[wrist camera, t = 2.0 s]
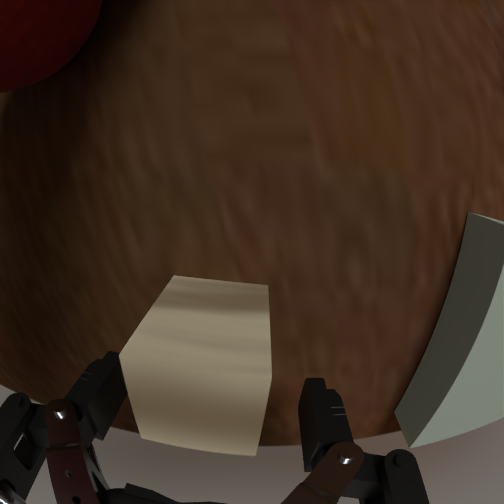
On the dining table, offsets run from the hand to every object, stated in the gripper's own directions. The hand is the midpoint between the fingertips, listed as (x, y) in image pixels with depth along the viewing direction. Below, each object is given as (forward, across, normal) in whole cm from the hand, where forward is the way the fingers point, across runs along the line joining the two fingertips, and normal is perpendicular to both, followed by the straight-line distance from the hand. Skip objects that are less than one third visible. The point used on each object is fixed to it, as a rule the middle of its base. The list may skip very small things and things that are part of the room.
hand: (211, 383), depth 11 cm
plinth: (+5, -20, 0) cm, 20 cm away
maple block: (+5, 0, 0) cm, 5 cm away
